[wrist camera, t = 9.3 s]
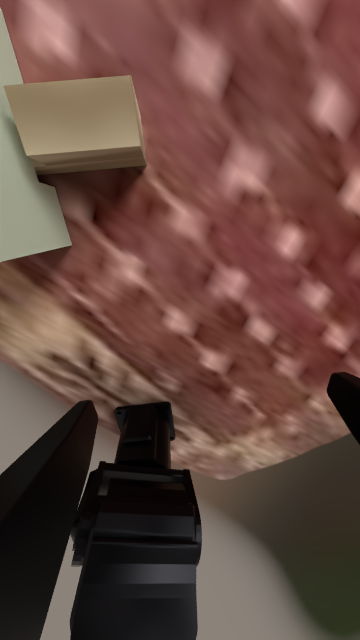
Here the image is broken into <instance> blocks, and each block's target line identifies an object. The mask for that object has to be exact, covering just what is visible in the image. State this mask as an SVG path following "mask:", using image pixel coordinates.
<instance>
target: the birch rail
mask: <svg viewBox="0 0 360 640" xmlns="http://www.w3.org/2000/svg"><path fill="white" fill-rule="evenodd" d="M3 87H4V90H5V93H6V96H7V99H8V102H9V105H10V108H11V111H12V114H13V117H14V120H15V123H16V126H17V129H18V132H19V135H20V138H21V141H22V144H23V147H24V150H25V153H26V156H28V157H30V158H31V160H32V163H33V166H34V169H35V172H36V175H46V174H57V173H69V172H80V171H91V170H102V169H113V168H125V167H136V166H147V163H146V155H145V148H144V140H143V132H142V124H141V116H140V112H139V108H138V103H137V99H136V95H135V91H134V86H133V82H132V78H131V75H129V76H116V77H104V78H91V79H79V80H66V81H54V82H42V83H29V84H17V85H4V86H3Z"/></svg>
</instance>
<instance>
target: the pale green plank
mask: <svg viewBox="0 0 360 640" xmlns="http://www.w3.org/2000/svg"><path fill="white" fill-rule="evenodd" d="M17 84H24V83H23V80H22V77H21V73H20V70H19V67H18V63H17V60H16V57H15V53H14V50H13V47H12V43H11V40H10V37H9V33H8V30H7V27H6V23H5V20H4V17H3V13H2V10H1V8H0V262H2V261H6V260H10V259H15V258H19V257H23V256H28V255H32V254H36V253H41V252H45V251H49V250H54V249H58V248H62V247H66V246H71V245H72V243H71V240H70V237H69V233H68V230H67V227H66V223H65V220H64V217H63V213H62V210H61V207H60V203H59V200H58V197H57V193H56V190H55V187H53V186H50V185H46V184H43V183H40V182H39V181H38V178H37V175H36V172H35V169H34V166H33V163H32V160H31V158H30V157H28V156H26V153H25V150H24V147H23V144H22V141H21V138H20V135H19V132H18V129H17V126H16V123H15V120H14V117H13V114H12V111H11V108H10V105H9V102H8V99H7V96H6V93H5V90H4V87H3V86H4V85H17Z"/></svg>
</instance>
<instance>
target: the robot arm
mask: <svg viewBox="0 0 360 640" xmlns="http://www.w3.org/2000/svg"><path fill="white" fill-rule="evenodd" d="M327 394H328V396H329V398H330V399H331V401H332V403H333V404H334V406H335V407H336V409H337V411H338V412H339V414H340V416H341V417H342V419H343V420H344V422H345V424H346V425H347V427H348V429H349V430H350V432H351V433H352V435H353V436H354V438H355V439H356V440H357V441H358V443H359V445H360V378H358V377H356V376H354V375H351V374H349V373H346V372H337V373H333V374H332V375H331V377H330V380H329V383H328V387H327ZM119 411H120V412H119ZM115 416H116V419H117V422H118V425H119V428H120V431H121V434H120V440H119V444H118V449H117V454H116V458H115V462H114V464H113V463H106V462H105V461H100V463H99V466H98V469H96V470H94V471H92V472H90V474H89V478H88V481H87V484H86V487H85V490H84V493H83V496H82V499H81V501H80V498H81V494H82V491H83V487H84V484H85V480H86V477H87V473H88V470H89V465H90V461H91V456H92V450H93V445H94V439H95V434H96V429H97V423H98V415H97V412H96V409H95V407H94V404H93V402H92V401H91V400H84V401H79V402H78V403H77V404H76V405H75V406H74V407H72V408H71V409H70V410H69V411H68V412H67V413H66V414H65V415H64V416H63V417H62V418H61V419H60V420H59V421H57V422H56V424H54V425H53V426H52V427H51V428H50V429H49V430H48V431H47V432H46V433H45V434H44V435H42V437H40V438H39V439H38V440H37V441H36V442H35V443H34V444H33V445H32V446H31V447H30V448H29V449H28V450H26V451H25V452H24V453H23V454H22V455H21V456H20V457H19V458H18V459H17V460H16V461H15V462H14V463H12V464H11V465H10V466H9V467H8V468H7V469H6V470H5V471H4V472H3V473H2V474H1V475H0V640H40V637H41V634H42V630H43V627H44V623H45V620H46V616H47V612H48V609H49V606H50V602H51V599H52V595H53V592H54V588H55V585H56V581H57V578H58V574H59V571H60V567H61V564H62V561H63V557H64V554H65V550H66V546H67V543H68V540H69V536H70V535H71V538H72V540H73V542H74V544H73V551H74V555H73V560H72V565H71V566H76V567H79V566H82V570H81V575H80V578H79V583H78V587H77V591H76V595H75V600H74V604H73V608H72V612H71V618H70V630H71V639H70V640H196V636H197V602H196V567H197V565H198V563H199V560H200V555H201V545H202V544H201V543H202V531H201V519H200V513H199V508H198V504H197V500H196V496H195V492H194V488H193V484H192V479H191V475H190V471H189V470H188V469H184V470H176V469H171V454H170V441H173V440H175V430H174V424H173V417H172V410H171V404H170V403H169V402H160V403H151V404H142V405H133V406H124V407H117V408H116V409H115ZM79 501H80V504H79ZM78 505H79V507H78ZM77 508H78V509H77Z"/></svg>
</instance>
